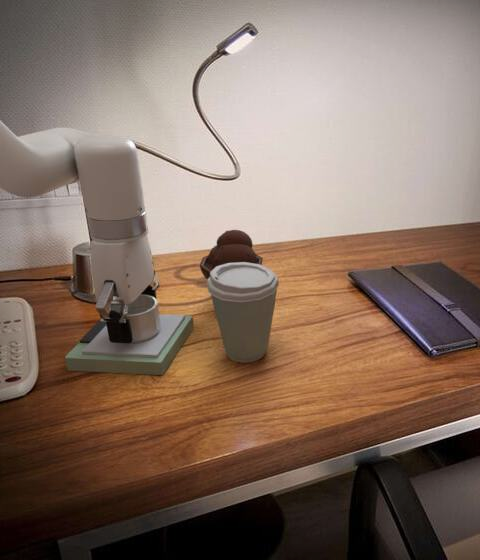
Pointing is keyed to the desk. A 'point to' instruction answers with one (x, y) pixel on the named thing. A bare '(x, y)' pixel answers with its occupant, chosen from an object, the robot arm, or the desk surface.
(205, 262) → the ice cream bowl
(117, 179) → the robot arm
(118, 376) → the desk surface
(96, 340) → the scale
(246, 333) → the disposable coffee cup
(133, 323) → the bowl
